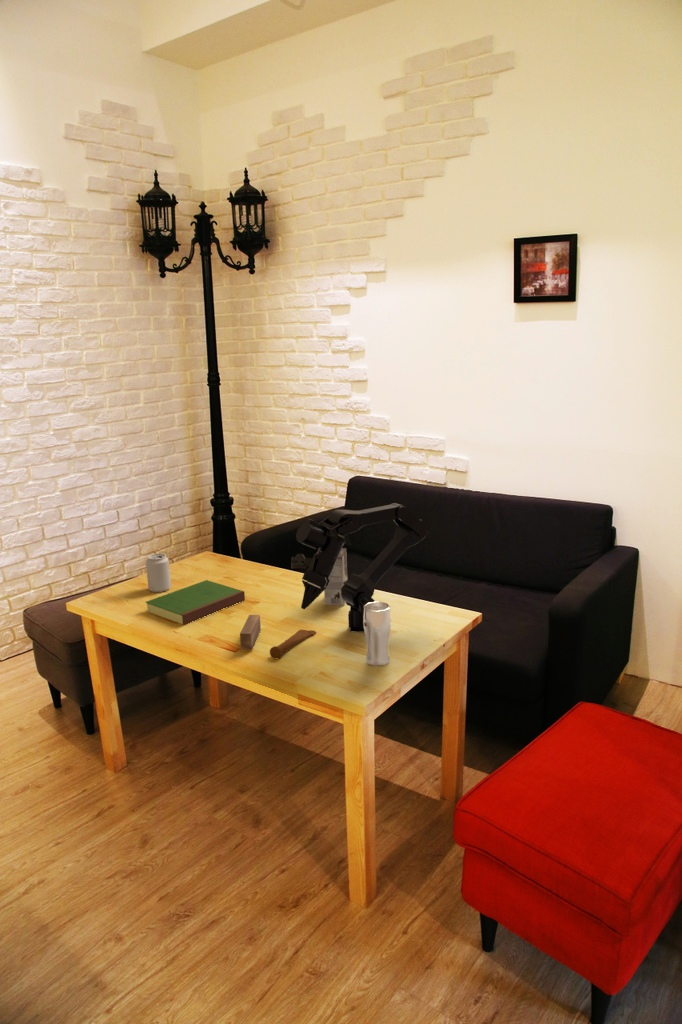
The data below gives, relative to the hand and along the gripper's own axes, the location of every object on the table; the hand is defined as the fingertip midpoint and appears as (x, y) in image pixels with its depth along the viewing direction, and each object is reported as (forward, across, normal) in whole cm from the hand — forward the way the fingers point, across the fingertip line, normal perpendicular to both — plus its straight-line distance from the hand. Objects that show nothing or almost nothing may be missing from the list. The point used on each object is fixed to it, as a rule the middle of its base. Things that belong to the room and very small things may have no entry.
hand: (304, 607), depth 191 cm
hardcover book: (+17, -32, -33) cm, 49 cm away
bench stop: (+15, -6, -10) cm, 19 cm away
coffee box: (-3, -34, +6) cm, 35 cm away
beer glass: (+4, +7, +23) cm, 25 cm away
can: (+19, -47, -50) cm, 71 cm away
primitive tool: (+11, -4, +1) cm, 12 cm away
